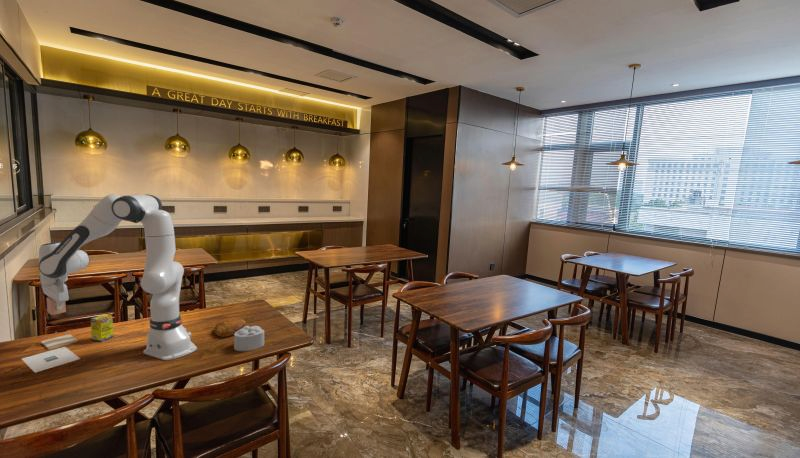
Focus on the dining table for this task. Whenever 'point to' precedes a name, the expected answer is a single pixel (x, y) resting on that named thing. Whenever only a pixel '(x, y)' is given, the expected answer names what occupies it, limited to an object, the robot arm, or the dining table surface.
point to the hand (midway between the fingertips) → (56, 307)
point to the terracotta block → (54, 307)
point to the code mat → (50, 359)
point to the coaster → (59, 341)
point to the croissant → (229, 326)
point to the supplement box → (102, 328)
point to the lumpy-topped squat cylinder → (248, 338)
